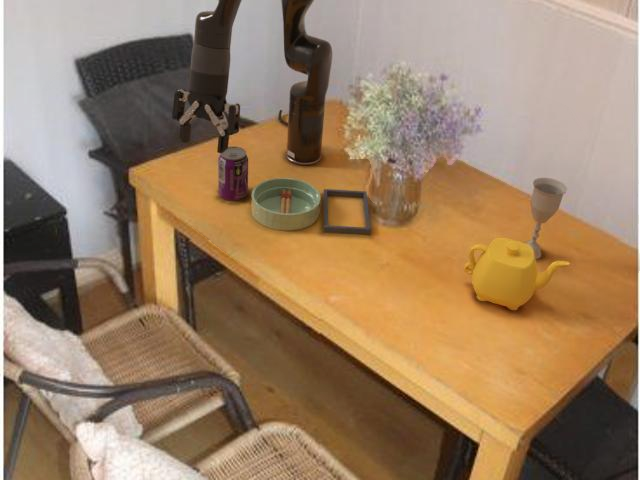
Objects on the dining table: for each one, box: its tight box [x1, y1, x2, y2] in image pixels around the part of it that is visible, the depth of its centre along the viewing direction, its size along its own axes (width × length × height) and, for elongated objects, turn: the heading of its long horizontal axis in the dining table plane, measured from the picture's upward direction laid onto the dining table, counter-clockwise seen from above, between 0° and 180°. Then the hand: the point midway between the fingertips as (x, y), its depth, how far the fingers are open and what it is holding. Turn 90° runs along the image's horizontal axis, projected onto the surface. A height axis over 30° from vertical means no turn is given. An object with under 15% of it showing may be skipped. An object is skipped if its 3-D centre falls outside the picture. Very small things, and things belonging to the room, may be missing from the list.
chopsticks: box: [280, 189, 292, 214], centre depth 174 cm, size 12×2×2 cm, turn 1°
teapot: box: [463, 237, 571, 311], centre depth 152 cm, size 14×20×13 cm
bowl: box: [250, 177, 322, 231], centre depth 173 cm, size 16×16×5 cm
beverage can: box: [217, 145, 249, 202], centre depth 176 cm, size 7×7×12 cm
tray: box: [323, 188, 371, 236], centre depth 175 cm, size 17×11×2 cm, turn 1°
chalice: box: [524, 177, 568, 260], centre depth 164 cm, size 7×7×18 cm
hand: (203, 147), depth 149 cm, fingers open, 8 cm apart
